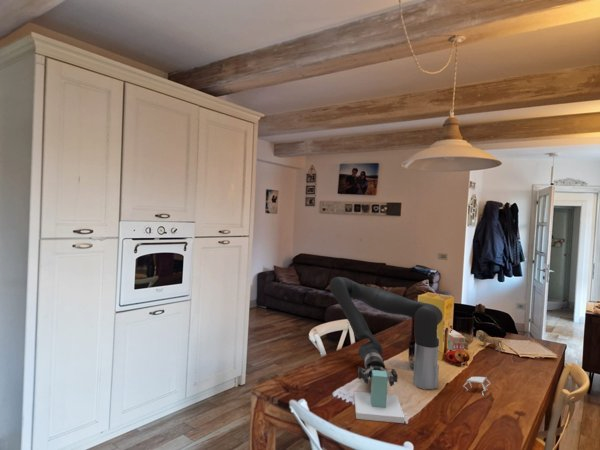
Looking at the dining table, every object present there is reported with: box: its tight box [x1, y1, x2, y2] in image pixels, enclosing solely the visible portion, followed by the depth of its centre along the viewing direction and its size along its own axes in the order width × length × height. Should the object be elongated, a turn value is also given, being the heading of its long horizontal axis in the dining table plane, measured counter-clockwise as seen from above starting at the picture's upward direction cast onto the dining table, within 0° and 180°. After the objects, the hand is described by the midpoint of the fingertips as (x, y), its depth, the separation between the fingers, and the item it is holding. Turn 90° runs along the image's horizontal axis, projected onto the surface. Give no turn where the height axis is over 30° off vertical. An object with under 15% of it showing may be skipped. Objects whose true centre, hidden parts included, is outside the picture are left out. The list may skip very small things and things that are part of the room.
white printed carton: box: [448, 329, 466, 352], centre depth 199 cm, size 21×6×12 cm, turn 5°
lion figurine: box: [475, 329, 506, 353], centre depth 210 cm, size 15×5×9 cm, turn 56°
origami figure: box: [462, 376, 491, 396], centre depth 156 cm, size 12×8×5 cm
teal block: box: [370, 370, 389, 408], centre depth 137 cm, size 5×5×11 cm
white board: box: [353, 391, 406, 424], centre depth 137 cm, size 16×16×2 cm
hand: (379, 382), depth 136 cm, fingers open, 8 cm apart
